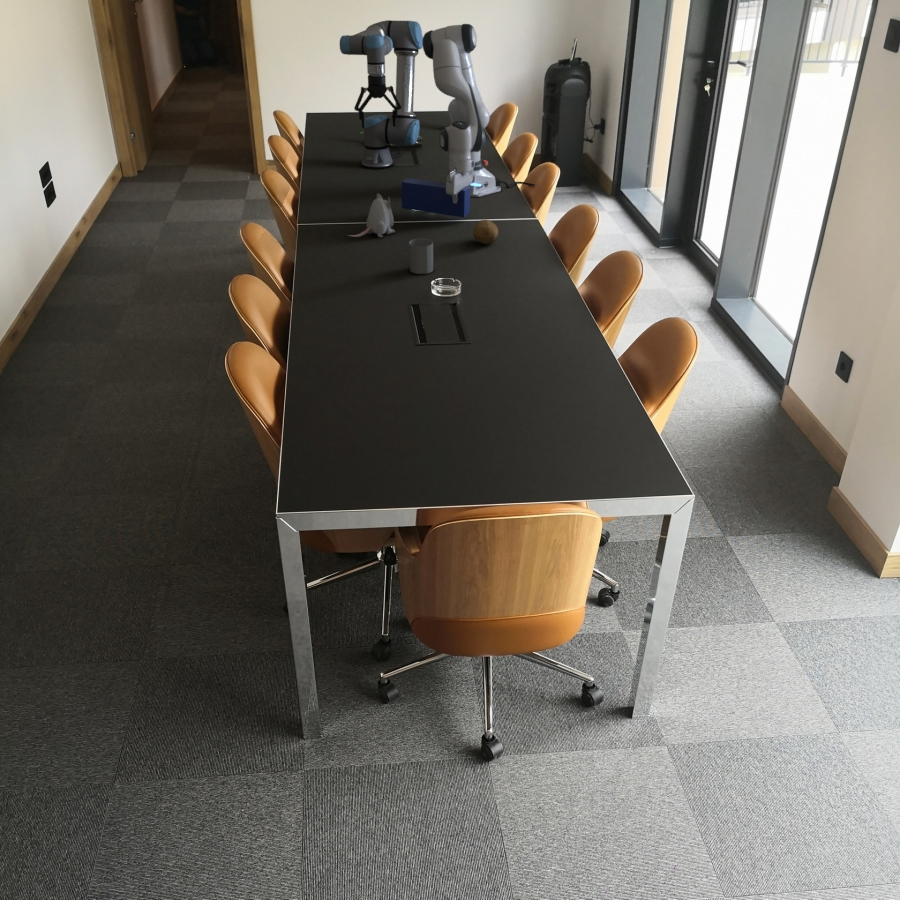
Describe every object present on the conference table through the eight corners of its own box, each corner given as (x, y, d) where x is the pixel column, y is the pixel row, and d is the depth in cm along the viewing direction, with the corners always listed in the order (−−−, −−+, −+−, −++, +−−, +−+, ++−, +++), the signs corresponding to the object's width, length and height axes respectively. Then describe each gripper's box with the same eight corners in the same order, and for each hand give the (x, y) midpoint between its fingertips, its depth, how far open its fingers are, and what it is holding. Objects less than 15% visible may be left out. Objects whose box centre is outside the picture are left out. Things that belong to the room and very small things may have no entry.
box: (401, 208, 358) (401, 181, 352) (408, 204, 363) (407, 178, 357) (464, 217, 349) (464, 190, 343) (469, 213, 354) (470, 186, 348)
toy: (400, 232, 342) (399, 194, 334) (355, 247, 327) (353, 208, 319) (385, 227, 347) (383, 189, 339) (340, 242, 333) (337, 203, 324)
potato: (495, 236, 338) (496, 216, 334) (500, 248, 327) (500, 227, 322) (471, 236, 338) (471, 216, 334) (474, 249, 326) (474, 228, 322)
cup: (409, 265, 311) (408, 238, 306) (432, 265, 312) (431, 238, 307) (410, 274, 304) (409, 246, 299) (433, 273, 305) (433, 246, 299)
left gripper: (347, 77, 362) (350, 129, 374) (406, 75, 366) (408, 127, 378) (346, 73, 369) (349, 126, 380) (404, 72, 372) (405, 123, 384)
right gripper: (457, 172, 333) (456, 208, 340) (476, 160, 349) (475, 195, 356) (442, 170, 335) (441, 206, 342) (461, 158, 351) (461, 193, 359)
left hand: (378, 126), depth 379 cm, fingers open, 13 cm apart
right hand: (459, 200), depth 350 cm, fingers closed on box, 6 cm apart
